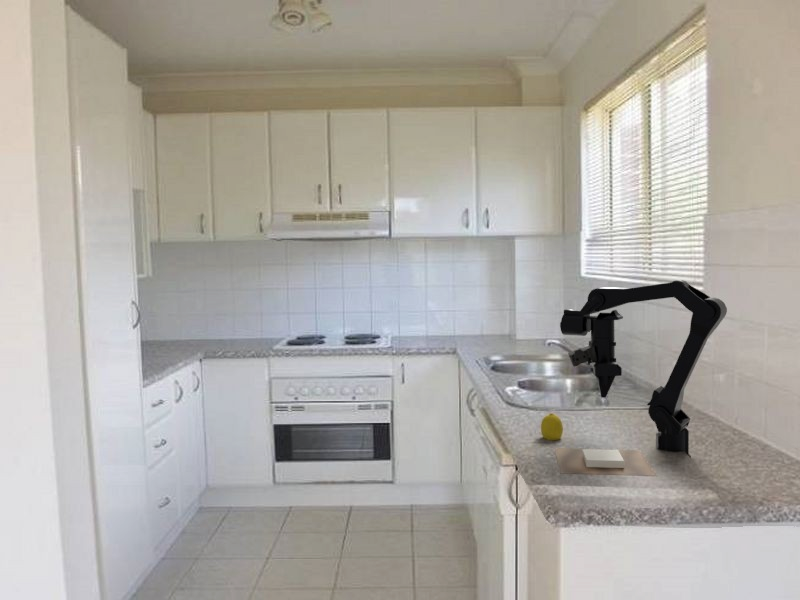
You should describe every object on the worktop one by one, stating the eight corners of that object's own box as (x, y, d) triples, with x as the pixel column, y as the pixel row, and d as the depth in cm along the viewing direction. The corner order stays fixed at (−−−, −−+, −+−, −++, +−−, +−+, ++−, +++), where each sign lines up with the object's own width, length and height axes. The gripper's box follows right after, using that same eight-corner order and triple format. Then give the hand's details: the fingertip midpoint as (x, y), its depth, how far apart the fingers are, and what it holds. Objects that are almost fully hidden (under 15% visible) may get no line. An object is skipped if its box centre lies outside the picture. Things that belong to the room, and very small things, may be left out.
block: (618, 449, 147) (624, 460, 139) (618, 457, 147) (624, 468, 139) (582, 449, 148) (586, 459, 141) (582, 456, 149) (586, 467, 141)
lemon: (547, 447, 161) (547, 416, 160) (537, 441, 166) (536, 411, 166) (567, 445, 162) (566, 414, 162) (556, 439, 168) (555, 409, 167)
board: (640, 456, 152) (640, 450, 152) (657, 482, 134) (657, 475, 134) (554, 454, 155) (554, 448, 155) (560, 480, 138) (560, 473, 138)
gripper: (566, 332, 172) (567, 389, 173) (573, 342, 153) (574, 405, 154) (609, 332, 170) (610, 389, 171) (621, 341, 151) (622, 406, 153)
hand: (603, 397), depth 162 cm, fingers closed
